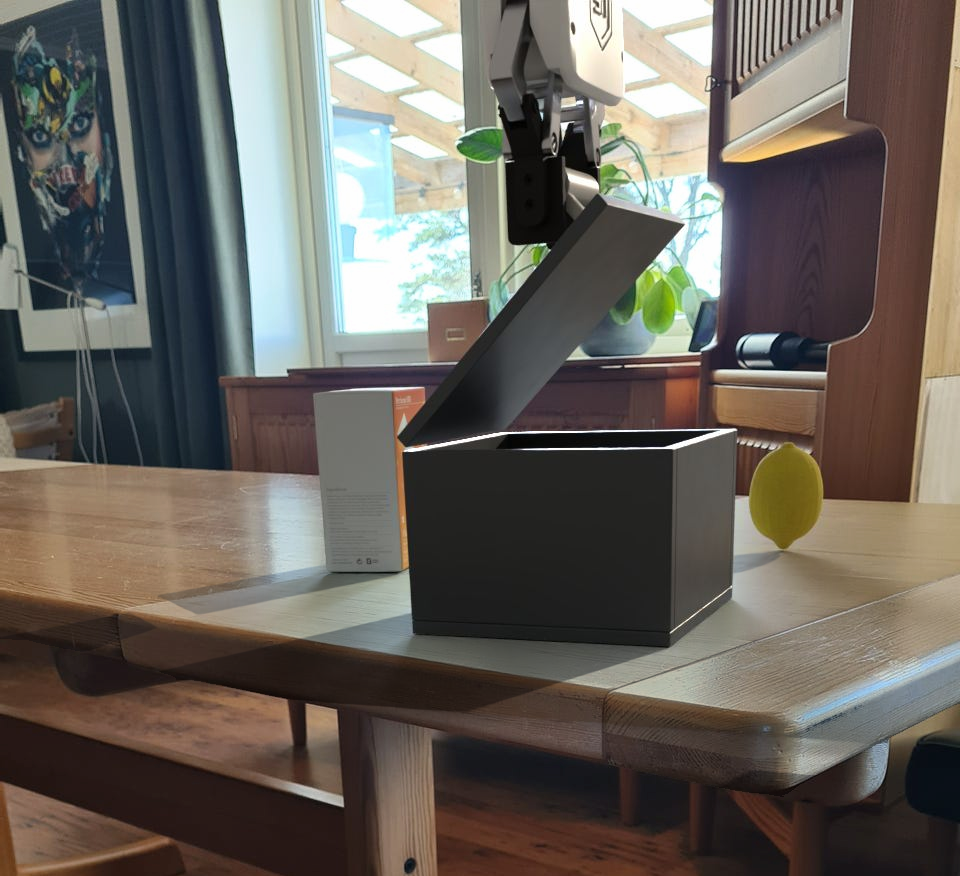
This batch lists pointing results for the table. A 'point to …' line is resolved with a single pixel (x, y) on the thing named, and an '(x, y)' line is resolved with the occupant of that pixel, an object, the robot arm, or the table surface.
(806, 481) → the lemon
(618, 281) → the lid
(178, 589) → the table surface
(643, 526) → the chest
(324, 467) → the small box
